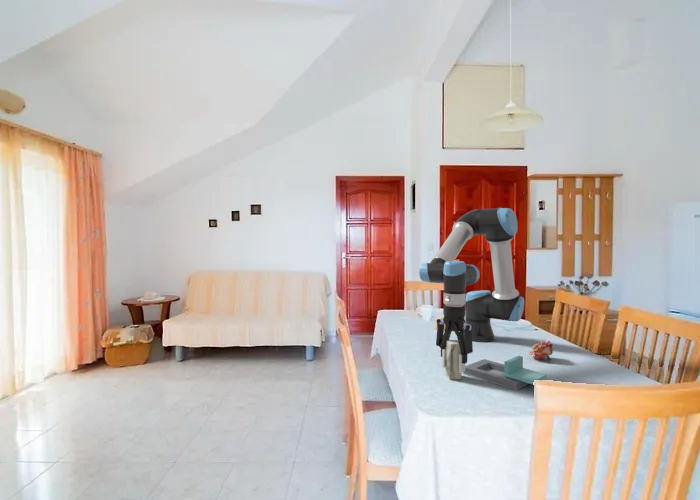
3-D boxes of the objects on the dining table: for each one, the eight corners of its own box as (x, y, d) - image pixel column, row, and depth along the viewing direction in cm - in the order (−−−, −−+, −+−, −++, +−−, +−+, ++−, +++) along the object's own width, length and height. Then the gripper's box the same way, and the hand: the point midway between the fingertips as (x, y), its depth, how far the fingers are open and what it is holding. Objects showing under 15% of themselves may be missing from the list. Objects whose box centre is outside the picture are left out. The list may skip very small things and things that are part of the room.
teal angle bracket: (503, 375, 133) (503, 361, 132) (517, 369, 139) (518, 355, 139) (532, 384, 125) (533, 369, 125) (546, 377, 131) (546, 362, 131)
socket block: (463, 373, 143) (463, 367, 142) (484, 365, 152) (484, 359, 151) (516, 390, 127) (516, 382, 127) (535, 379, 136) (536, 373, 136)
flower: (557, 353, 160) (545, 336, 163) (562, 355, 152) (548, 337, 154) (536, 365, 162) (524, 348, 164) (539, 368, 153) (527, 350, 156)
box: (445, 374, 141) (445, 339, 141) (456, 374, 141) (457, 339, 141) (450, 380, 136) (450, 343, 135) (462, 379, 136) (462, 343, 136)
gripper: (425, 302, 143) (425, 364, 144) (472, 310, 128) (471, 379, 129) (438, 300, 147) (438, 360, 148) (484, 307, 133) (483, 374, 134)
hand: (453, 369), depth 139 cm, fingers closed on box, 6 cm apart
